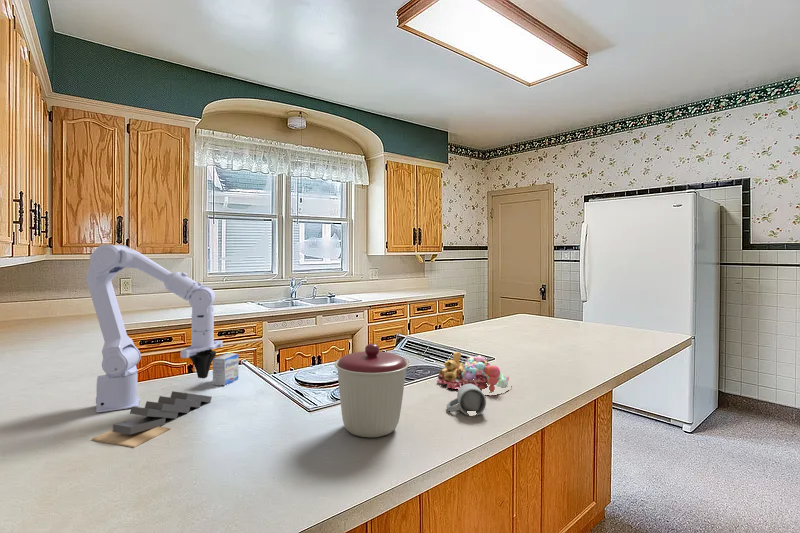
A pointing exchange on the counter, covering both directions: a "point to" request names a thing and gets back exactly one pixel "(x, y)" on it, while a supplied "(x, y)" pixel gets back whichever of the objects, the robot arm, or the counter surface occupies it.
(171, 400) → the domino
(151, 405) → the domino
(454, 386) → the candy landscape model
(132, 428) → the domino
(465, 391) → the ceramic mug
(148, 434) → the cork pad
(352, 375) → the canister
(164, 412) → the domino
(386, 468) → the counter surface
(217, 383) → the medicine box
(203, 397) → the domino
